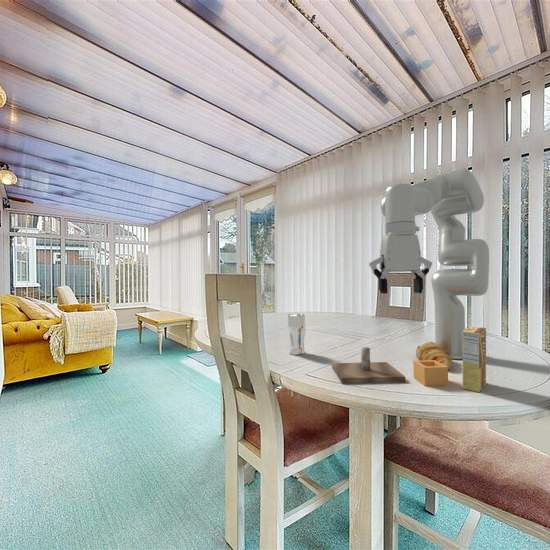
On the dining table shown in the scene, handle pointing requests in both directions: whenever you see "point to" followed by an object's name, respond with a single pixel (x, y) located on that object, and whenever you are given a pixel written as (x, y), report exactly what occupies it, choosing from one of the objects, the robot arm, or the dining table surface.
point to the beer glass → (296, 333)
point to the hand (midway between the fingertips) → (400, 293)
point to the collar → (430, 373)
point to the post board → (367, 371)
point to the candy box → (474, 358)
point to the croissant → (434, 353)
